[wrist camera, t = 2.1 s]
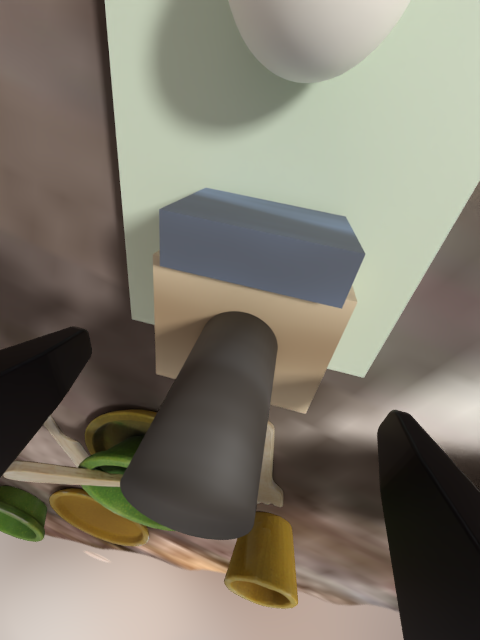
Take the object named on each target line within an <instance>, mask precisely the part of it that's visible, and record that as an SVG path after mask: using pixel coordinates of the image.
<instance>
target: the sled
mask: <svg viewBox="0 0 480 640" xmlns="http://www.w3.org/2000/svg"><path fill="white" fill-rule="evenodd" d="M159 237H160V250H158V251H157V252H156V253H154V254H153V284H154V319H155V354H156V374H158V375H162V376H165V377H169V378H173V379H175V381H174V383H173V385H172V387H171V389H170V390H169V392H168V394H167V396H166V398H165V400H164V401H163V403H162V405H161V407H160V409H159V410H158V412H157V414H156V416H155V418H154V420H153V421H152V423H151V425H150V427H149V429H148V431H147V432H146V434H145V436H144V438H143V440H142V442H141V443H140V445H139V447H138V449H137V451H136V453H135V454H134V456H133V458H132V460H131V462H130V463H129V465H128V467H127V469H126V471H125V473H124V474H123V476H122V478H121V480H120V489H121V492H122V494H123V495H124V497H125V498H126V500H127V501H128V502H129V503H130V504H131V505H132V506H133V507H134V508H135V509H136V510H138V511H139V512H140V513H142V514H143V515H145V516H146V517H148V518H150V519H151V520H153V521H155V522H157V523H159V524H161V525H163V526H165V527H167V528H170V529H172V530H175V531H178V532H181V533H184V534H187V535H191V536H195V537H200V538H206V539H215V540H228V539H235V538H240V537H242V536H245V535H246V534H248V533H249V532H250V531H251V530H252V528H253V526H254V520H255V513H256V506H257V498H258V491H259V483H260V476H261V469H262V461H263V454H264V447H265V439H266V432H267V424H268V417H269V410H270V405H274V406H278V407H282V408H285V409H289V410H293V411H297V412H300V413H304V414H306V412H307V410H308V408H309V405H310V403H311V401H312V399H313V397H314V395H315V393H316V390H317V388H318V386H319V384H320V382H321V380H322V378H323V375H324V373H325V371H326V369H327V367H328V365H329V362H330V360H331V358H332V356H333V354H334V352H335V350H336V347H337V345H338V343H339V341H340V339H341V337H342V335H343V332H344V330H345V328H346V326H347V324H348V322H349V319H350V317H351V315H352V313H353V311H354V309H355V307H356V304H357V299H356V295H355V292H354V289H353V286H352V284H353V282H354V280H355V277H356V275H357V273H358V270H359V268H360V266H361V264H362V261H363V259H364V257H365V252H364V250H363V248H362V246H361V244H360V242H359V241H358V239H357V237H356V235H355V233H354V231H353V229H352V227H351V225H350V224H349V222H348V220H347V218H346V217H345V216H341V215H336V214H331V213H326V212H321V211H317V210H312V209H307V208H302V207H297V206H293V205H288V204H283V203H278V202H273V201H268V200H264V199H259V198H254V197H249V196H244V195H240V194H235V193H230V192H225V191H220V190H215V189H211V188H204V189H202V190H199V191H197V192H195V193H193V194H191V195H189V196H187V197H184V198H182V199H180V200H178V201H176V202H174V203H171V204H169V205H167V206H165V207H163V208H161V209H159Z"/></svg>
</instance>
